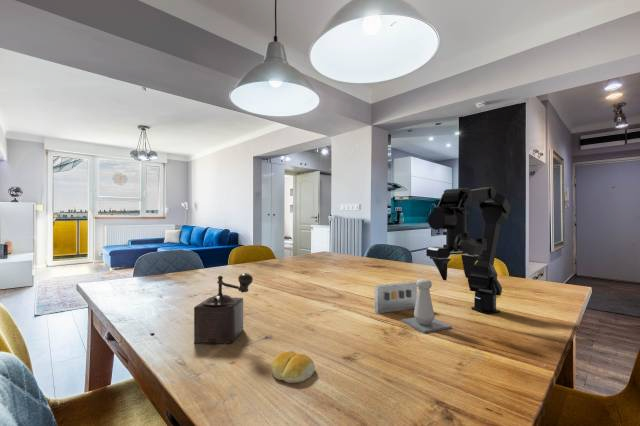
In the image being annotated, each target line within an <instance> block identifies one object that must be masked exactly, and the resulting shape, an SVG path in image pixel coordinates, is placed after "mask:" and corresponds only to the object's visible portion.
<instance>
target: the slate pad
mask: <svg viewBox="0 0 640 426" xmlns="http://www.w3.org/2000/svg"><path fill="white" fill-rule="evenodd" d="M401 322H403V323H404V324H406V325H408V326H410V327H412V328H414V329H415V330H417V331H420V333H422V334H425V333H426V334H427V333H431V332H437V331H442V330H449V329H452V328H453V327H452V325H450V324H449V323H448V324H447V323H446V322H444V321H441V320H439V319H436V318H435V317H434V319H433V321H432V323H431V325H426V326H425V325H420V324H418V323H417V321H416V319H415V316H414V317H410V318H409V317H408V318H403V319H401Z"/></svg>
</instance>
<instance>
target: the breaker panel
mask: <svg viewBox="0 0 640 426" xmlns="http://www.w3.org/2000/svg"><path fill="white" fill-rule="evenodd" d="M416 282H417V281H405V282H395V283H385V284H375V285H374V313H376V314H377V315H379V314H384V313H392V312H398V311H399V312H400V311H406V310H412V309H414V310H415V305H416V299H417V294H418V287H417V285H416Z"/></svg>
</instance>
